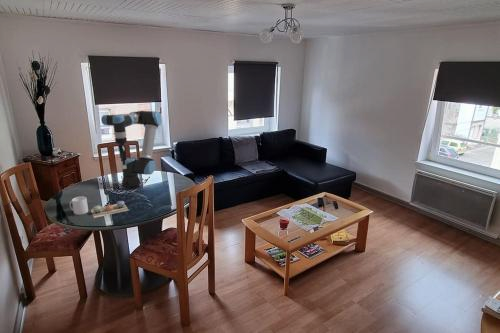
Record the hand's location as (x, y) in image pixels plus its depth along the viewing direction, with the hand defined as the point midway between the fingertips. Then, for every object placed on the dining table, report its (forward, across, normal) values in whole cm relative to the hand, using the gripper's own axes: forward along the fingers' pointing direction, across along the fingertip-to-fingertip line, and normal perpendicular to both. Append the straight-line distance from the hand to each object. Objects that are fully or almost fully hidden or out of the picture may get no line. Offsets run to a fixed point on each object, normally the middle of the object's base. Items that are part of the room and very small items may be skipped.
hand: (124, 168), depth 226 cm
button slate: (+23, +15, -8) cm, 29 cm away
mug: (+24, +7, -34) cm, 42 cm away
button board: (+24, +15, -16) cm, 33 cm away
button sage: (+23, +15, -24) cm, 36 cm away
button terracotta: (+24, +15, -16) cm, 33 cm away
